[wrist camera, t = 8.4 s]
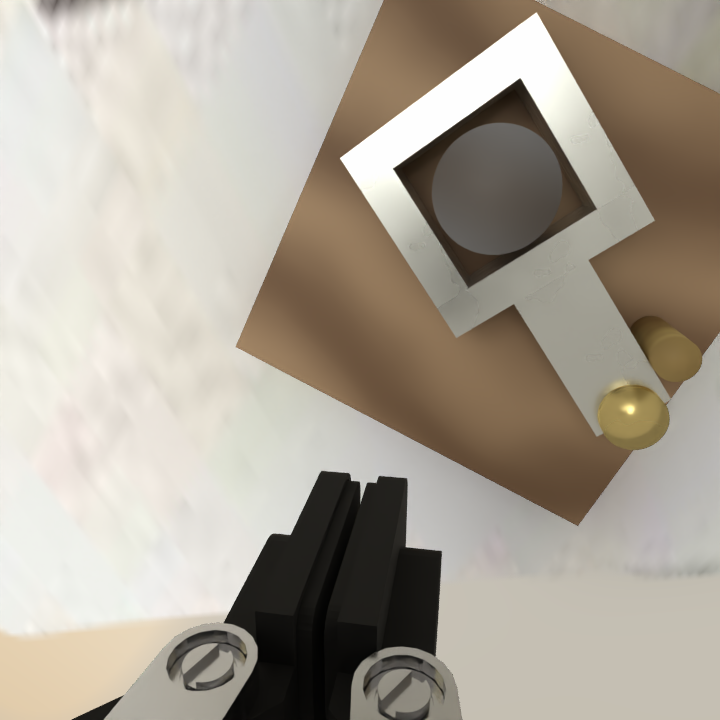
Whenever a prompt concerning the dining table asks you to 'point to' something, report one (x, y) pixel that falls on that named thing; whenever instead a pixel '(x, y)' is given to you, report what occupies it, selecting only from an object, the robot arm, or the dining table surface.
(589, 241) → the square frame with handle
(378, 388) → the board
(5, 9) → the dining table surface
